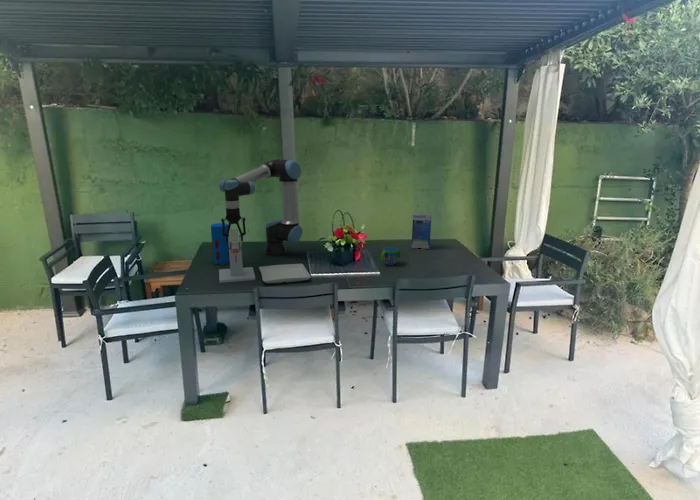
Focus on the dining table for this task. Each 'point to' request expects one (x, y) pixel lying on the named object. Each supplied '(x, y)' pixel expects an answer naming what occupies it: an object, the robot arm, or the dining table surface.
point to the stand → (236, 269)
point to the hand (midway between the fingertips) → (235, 246)
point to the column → (234, 240)
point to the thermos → (219, 244)
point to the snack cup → (390, 255)
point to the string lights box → (421, 230)
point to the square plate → (284, 273)
